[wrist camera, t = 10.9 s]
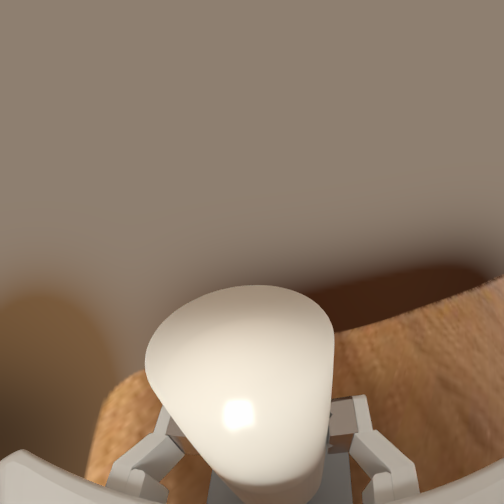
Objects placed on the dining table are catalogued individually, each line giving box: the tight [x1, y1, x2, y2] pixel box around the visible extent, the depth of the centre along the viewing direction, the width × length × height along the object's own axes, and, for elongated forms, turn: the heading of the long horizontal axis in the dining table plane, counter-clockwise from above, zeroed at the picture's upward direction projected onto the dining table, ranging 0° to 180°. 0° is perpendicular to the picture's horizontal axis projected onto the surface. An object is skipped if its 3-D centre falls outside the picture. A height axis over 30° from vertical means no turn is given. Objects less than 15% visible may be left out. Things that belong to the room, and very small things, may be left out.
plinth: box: [206, 445, 353, 504], centre depth 13 cm, size 8×8×4 cm
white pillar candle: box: [145, 285, 334, 504], centre depth 9 cm, size 5×5×11 cm
